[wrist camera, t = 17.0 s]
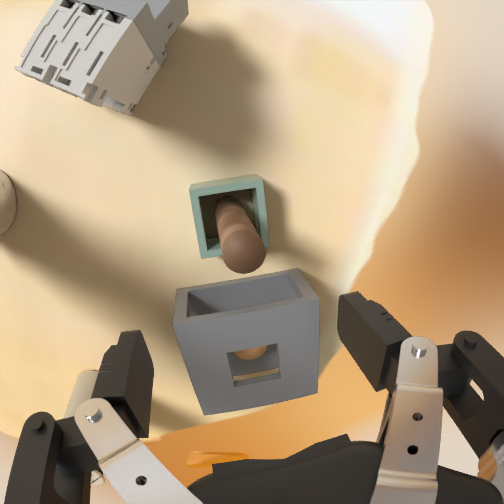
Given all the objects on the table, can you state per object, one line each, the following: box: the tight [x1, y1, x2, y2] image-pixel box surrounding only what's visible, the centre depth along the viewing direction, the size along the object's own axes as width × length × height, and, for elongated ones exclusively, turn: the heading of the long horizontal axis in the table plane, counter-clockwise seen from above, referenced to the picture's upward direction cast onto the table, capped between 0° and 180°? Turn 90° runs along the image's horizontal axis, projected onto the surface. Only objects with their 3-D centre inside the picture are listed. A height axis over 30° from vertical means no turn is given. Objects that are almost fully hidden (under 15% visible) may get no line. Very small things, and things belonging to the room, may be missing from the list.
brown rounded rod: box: [214, 196, 266, 274], centre depth 29 cm, size 3×3×14 cm
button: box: [234, 346, 267, 360], centre depth 39 cm, size 4×4×3 cm
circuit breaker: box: [14, 0, 188, 115], centre depth 20 cm, size 8×14×15 cm, turn 149°
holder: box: [189, 175, 270, 259], centre depth 33 cm, size 8×8×4 cm
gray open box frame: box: [172, 268, 319, 415], centre depth 38 cm, size 16×16×8 cm
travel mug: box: [64, 371, 105, 486], centre depth 34 cm, size 8×8×18 cm
